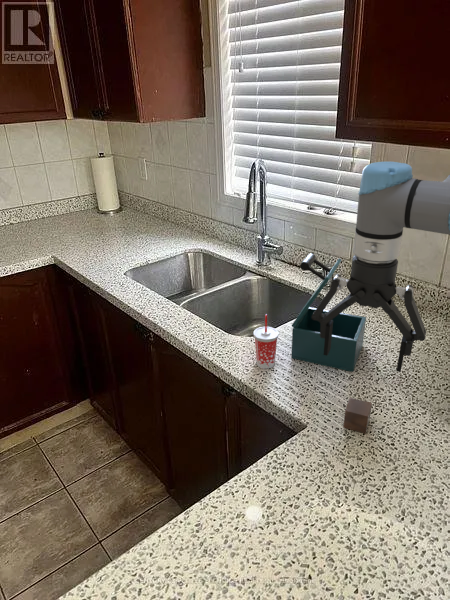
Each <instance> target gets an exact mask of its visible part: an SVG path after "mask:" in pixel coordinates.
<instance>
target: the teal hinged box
mask: <svg viewBox="0 0 450 600" xmlns="http://www.w3.org/2000/svg"><path fill="white" fill-rule="evenodd" d="M316 308H317V307H311V306H310V307H309V308H308V309H307V311H306V312H305V313H304V315H303V316H302V317H301V319H300V320H299V322H298V323H297V324H296V326H295V327H294V328H293V327H292V331H291V333H292V334H291V356H290V358H291V359H293V360H297V361H301V362H306V363H311V364H314V365H315V364H316V365H320V366H325V367H328V368H333V369H336V370H337V369H338V370H341V371H346V372H351V373H354V371H355V368H356V366H357V363H358V360H359V357H360V355H361V352H362V349H363V346H364V340H365V339H364V338H365V330H366V323H367V317H366V316H361V315H355V314H350V313H345V312H341V313H340V314H339V315H337V316H336V317H335V318H333V319H332V321H333V328H332V339H331V349H330V351H329V353H328V355H327V356H326V355H323V354H324V342H325V339H324V338H321V337H320V326H321V324H320V322H319V321H317V320H312V318H311V316H312V315H313V313H314V311H315V310H316ZM328 311H329V310H327V309H324V310H323V312H322V313H323V314H325V313H327V312H328Z"/></svg>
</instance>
